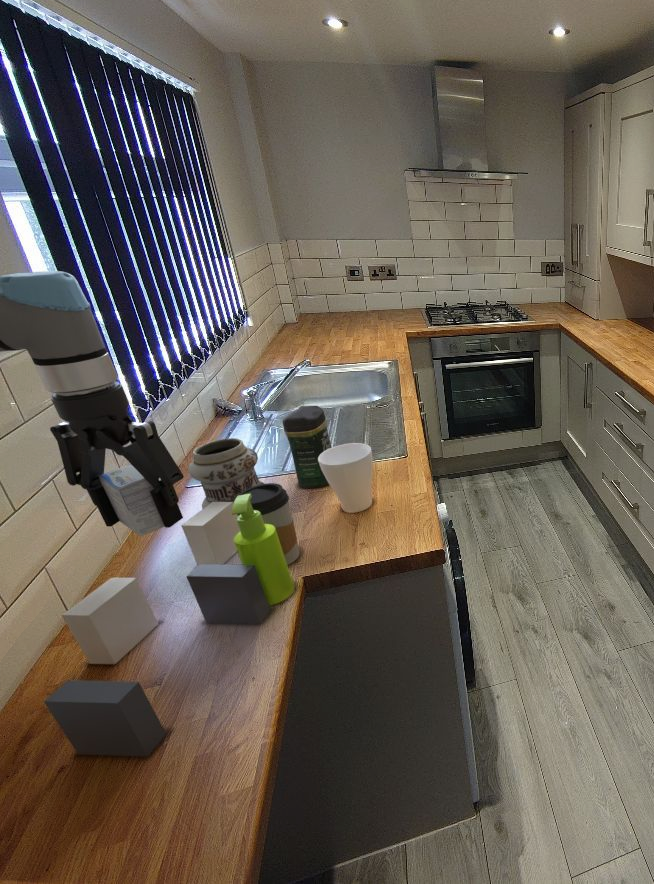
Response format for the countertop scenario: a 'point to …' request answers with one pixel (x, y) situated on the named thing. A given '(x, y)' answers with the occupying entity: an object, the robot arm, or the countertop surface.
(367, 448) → the cup
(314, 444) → the coffee jar
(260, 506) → the coffee cup
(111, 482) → the medicine box
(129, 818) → the countertop surface
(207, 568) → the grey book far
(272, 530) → the soap dispenser
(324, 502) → the countertop surface
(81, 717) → the grey block near
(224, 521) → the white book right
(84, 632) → the white rectangular block
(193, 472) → the apothecary jar
